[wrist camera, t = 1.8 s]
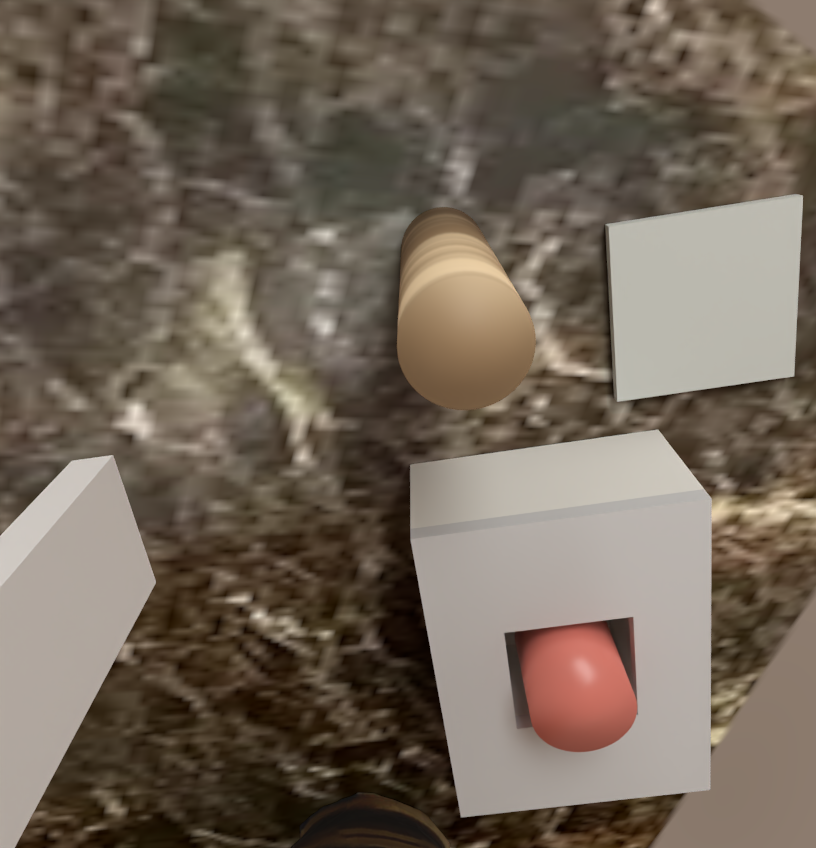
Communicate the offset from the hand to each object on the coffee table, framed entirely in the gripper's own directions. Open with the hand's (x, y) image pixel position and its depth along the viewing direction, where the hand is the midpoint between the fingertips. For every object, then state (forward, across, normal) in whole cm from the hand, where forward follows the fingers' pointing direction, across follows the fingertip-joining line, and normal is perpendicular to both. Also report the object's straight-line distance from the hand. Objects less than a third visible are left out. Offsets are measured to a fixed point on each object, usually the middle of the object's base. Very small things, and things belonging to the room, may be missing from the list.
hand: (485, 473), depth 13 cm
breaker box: (+21, +3, -18) cm, 27 cm away
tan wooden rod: (+21, 0, 0) cm, 21 cm away
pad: (+21, +11, -4) cm, 24 cm away
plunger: (+17, +3, -18) cm, 25 cm away
